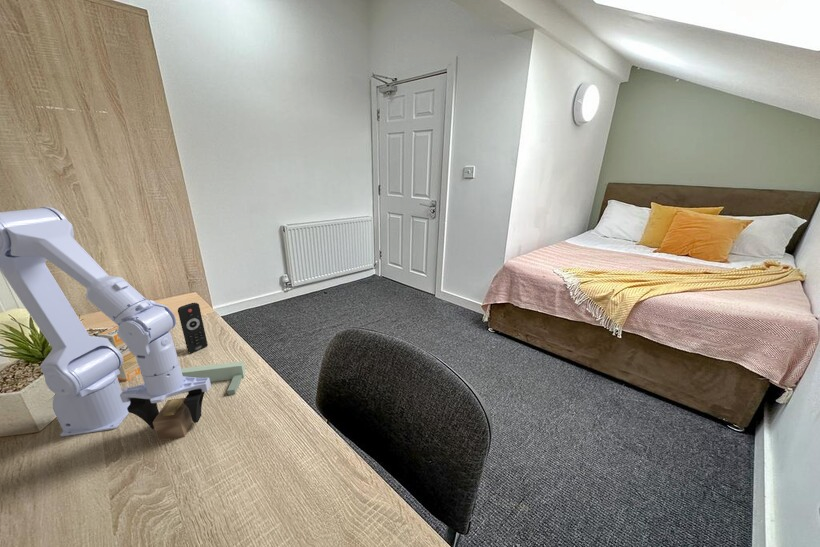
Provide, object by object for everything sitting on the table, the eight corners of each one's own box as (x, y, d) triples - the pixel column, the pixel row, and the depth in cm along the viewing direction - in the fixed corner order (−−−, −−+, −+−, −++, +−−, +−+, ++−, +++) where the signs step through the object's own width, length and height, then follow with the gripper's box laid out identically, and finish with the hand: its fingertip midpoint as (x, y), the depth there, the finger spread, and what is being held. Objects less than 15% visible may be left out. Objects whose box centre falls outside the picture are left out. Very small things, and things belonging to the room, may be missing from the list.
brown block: (159, 441, 60) (151, 419, 58) (173, 418, 66) (166, 397, 64) (185, 437, 61) (178, 415, 59) (197, 415, 67) (191, 393, 65)
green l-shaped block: (154, 405, 69) (150, 392, 68) (171, 382, 76) (168, 369, 75) (237, 394, 73) (234, 381, 72) (246, 373, 80) (243, 361, 79)
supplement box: (127, 382, 76) (111, 336, 72) (112, 379, 77) (95, 334, 73) (159, 362, 84) (146, 320, 79) (145, 360, 85) (131, 318, 80)
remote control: (191, 355, 87) (178, 308, 82) (188, 353, 88) (175, 306, 83) (209, 347, 91) (198, 301, 86) (206, 345, 92) (195, 300, 87)
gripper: (100, 386, 53) (123, 444, 58) (194, 375, 56) (209, 431, 61) (125, 362, 60) (144, 416, 64) (208, 353, 63) (221, 405, 68)
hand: (177, 422), depth 63 cm, fingers open, 7 cm apart
